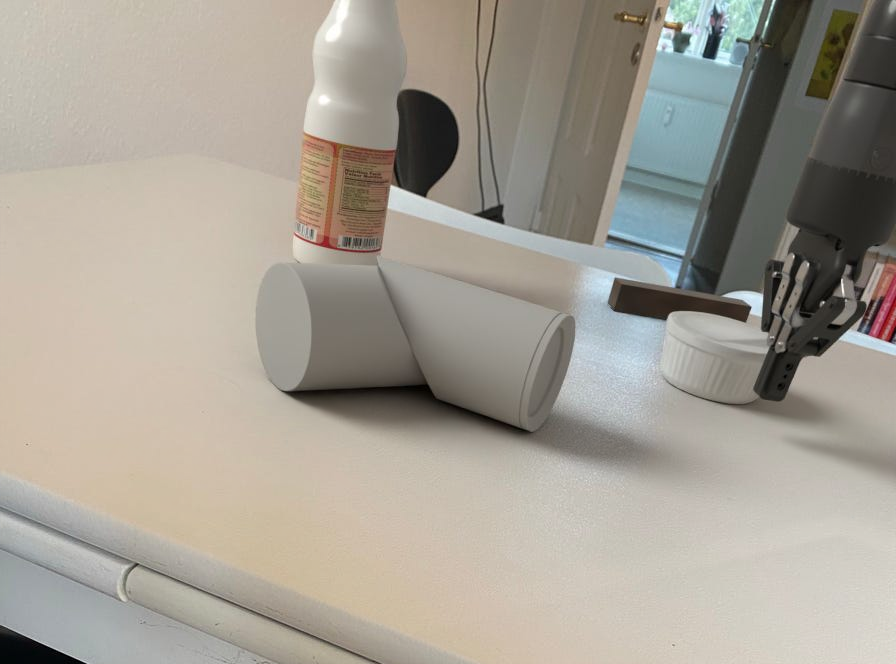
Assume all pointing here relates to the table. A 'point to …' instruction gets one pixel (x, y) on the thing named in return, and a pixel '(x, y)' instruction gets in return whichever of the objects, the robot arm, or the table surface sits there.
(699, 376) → the ramekin
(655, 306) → the stop bar
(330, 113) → the fruit juice
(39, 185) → the table surface
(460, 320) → the elbow connector
